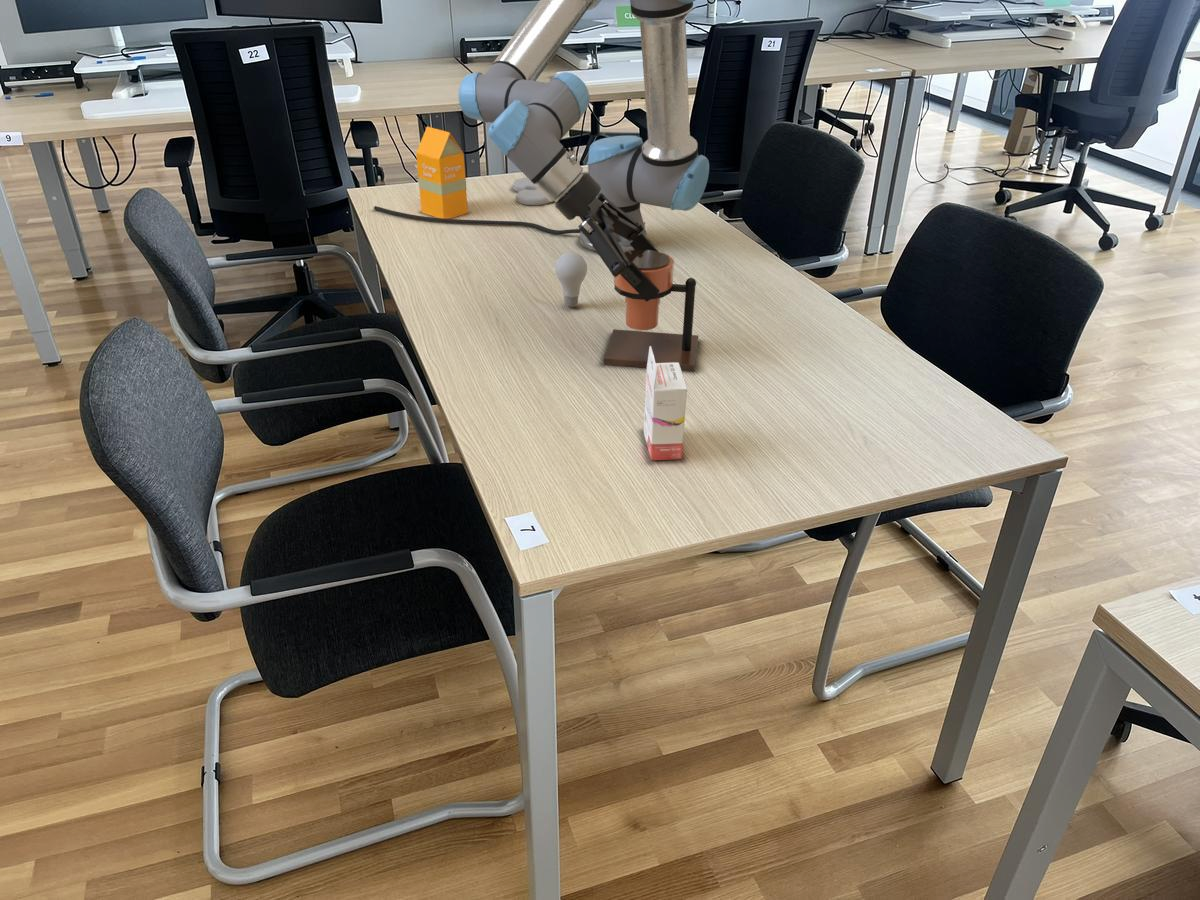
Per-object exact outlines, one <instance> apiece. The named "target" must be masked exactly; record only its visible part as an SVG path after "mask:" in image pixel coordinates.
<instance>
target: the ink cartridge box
mask: <svg viewBox="0 0 1200 900" xmlns="http://www.w3.org/2000/svg"><path fill="white" fill-rule="evenodd" d="M651 362H652V363H651ZM644 394H645V395H644V415H643V435H644V439H645V444H646V447H647V450H648V454H649V458H650V461H669V460H682V459H683V448H684V436H685V435H684V433H685V421H686V420H685V419H686V408H687V407H686V406H687V395H688V387H687V383H686V380H685V378H684V374H683V372H682V371H681V368H680V365H679V363H656V362H655V359H654V355H653V351H652V348H651V346H650V348H649V355H648V362H647V368H646V374H645V393H644Z"/></svg>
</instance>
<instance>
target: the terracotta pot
mask: <svg viewBox="0 0 1200 900" xmlns="http://www.w3.org/2000/svg"><path fill="white" fill-rule="evenodd" d="M624 253H625V255H626V257H627V259H628V260H629V262H630V263H631V262H633V263H634V264H635V265H636V266H637V267H638V268H639V269H640V270H641V271H642V272H643V273H644V274H645V275H646V276H647V278H648V279H649V280H650V281H651V282H652V283H653V284H654V285H655V286H656V287H657V288H658V289H659V292H658V293H661V292H664V291H667V290H669V289H670V288H671V287H672V285H673V284H674V269H675V260H674V258H673V257H672V256H671V255H669V254H667V253H664V252H660V251H659V252H657V251H652V250H633V251H628V252H624ZM613 284H614V286H616V287H617V288H619V289H620V290H622V291H625V292H629V293H634V294H639V293H638V292H637V291H636V290H635V289H634V288H633V287H632V286H631V285H630V284H629V283H628V282H627V281H626V280H625V279H624V278H623V277H622V276H621V275H620V274H619V275H618V276H617V277H614V276H613ZM624 297H625V296H624ZM624 303H625V325H626V326H627V327H628V328H630V329H632V330H635V331H649V330H653V329H655V328H657V326H658V325H659V309H660V308H659V307H660V304H661V298H657V299H651V300H649V301H648V302H646V301H645V300H641V299H632V298H628V297H625V298H624Z"/></svg>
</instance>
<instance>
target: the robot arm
mask: <svg viewBox="0 0 1200 900" xmlns="http://www.w3.org/2000/svg"><path fill="white" fill-rule="evenodd" d="M695 1H696V0H629V3H630V13H631V15H632V16H633V17H634V18H636V19H637V20H638V21H639V28H640V42H641V56H642V57H641V58H642V70H643V73H642V74H643V86H644V87H643V88H644V96H645V97H644V99H645V114H646V129H647V140H645V141H644V142H643V138H642V137H641V136H638V135H616V136H609V137H604V138H600V139H597V140H595V141H593V142H592V143H591V144H590V145H589V147H588V157H587V158H588V159H587V163H586V164H587V171H588V173H584V174H583V173H582V172H584V170H583V169H584V168H583V166H581V165H580V163H579V162H578V161H577V155H576V154H570V153H569V152H568V150H567V149H566V148H565V147H564V145H563V144H562V143H561V142H560V141H561V140H562V139H563V138H564V137H565V136H566V135H567V134H568V133H569V132H570V130H571V129H572V128H573V127H574V126H575V125H576V124H577V123H579V121H580V120H581V118H582V116H583V115H584V114H585V113H586V111H587V110H588V108H589V106H590V101H591V100H590V99H591V98H590V92H589V89H588V86H587V85H586V84H585V82H584V81H583V80H582V78H580V77H579V76H578V75H576V74H574V73H573V72H567V71H563V72H560V73H558V74H556V75H555V76H553V77H552V78H551V79H550V80H549V81H546V82H545V81H539V80H538V79H539V77H540V75H541V74H543V72H544V70H545V68H546V67H547V66H548V65H549V63H550V62H551V60H552V59H553V57H554V56H555V55H556V53H557V52H558V51H559V49H560V48H561V46H562V45H563V44H564V42H565V41H566V40H567V38H568V37H569V36H570V34H571V33H572V31H573V30H574V29H575V28H576V26H577V25H578V24H579V22H580V20H581V19H582V18H583V16H584V15H585V13H586V12H587V11H590V10H594V9H595V8H596V7H597V6H598V5H599V4H600V2H602V1H601V0H539V1H538V2H537V3H536V5H535V6H534V8H533V9H532V11H530V13H529V14H528V16H527V17H526V19H524V21H523V22H522V24H521V25H520V26H519V28H518V29H517V31H516V32H515V33H514V34H513V36H512V37H511V38H510V40H509V41H508V42H507V44H506V45H505V46H504V48H503V49H502V50H501V51H500V53H499V54H498V55H497V57H496V58H495V59H494V61H493V62H492V64H491V65H490V66H489V68H488V69H487V71H485V73H482V72H472V73H469V74H467V75H465V76H464V77H463V78H462V80H461V82H460V85H459V89H458V104H459V106H460V109H461V111H462V113H463V114H464V115H465V116H466V117H467V118H469V119H473V120H476V121H479V122H483V123H491V124H490V126H489V127H488V130H487V132H488V136H489V138H490V139H491V140H492V142H493V143H494V144H495V145H496V147H497V148H498V149H499V150H500V152H501V153H502V154H503V155H504V156H505V157H507V159H508V160H509V161H510V162H512V164H513V165H514V166H515V167H516V168H518V170H519V171H520V172H521V173H523V175H524V176H525V177H526V178H529V179H530V180H531V182H532V183H533V184H534V185H535V186H536V187H537V188H538V189H539V190H540V192H541V193H542V194H543V195H544V196H545V197H546V198H547V199H548V200H549V201H550V203H553V202H552V201H554V202H555V203H554V206H555V208H556V209H557V210H558V211H559V212H560V213H561V215H562V216H564V217H565V218H566V220H568V221H572V220H574V219H575V218H576V217H579V219H580V220H581V221H582V222H581V223H580V224H579V225H578V226H577V227H578V228H572V229H571V228H570V229H560V230H559V229H558V230H557V229H552V228H549V227H545V226H543V225H541V224H538V223H534V222H528V221H519V220H518V221H515V220H490V219H489V220H488V219H487V220H486V219H462V218H461V219H460V218H450V219H445V218H437V217H434V216H423V215H416V214H411V213H405V212H401V211H396V210H391V209H388V208H384V207H380V206H377V205H375V206H373V210H374V211H378V212H382V213H385V214H387V215H388V214H389V215H393V216H398V217H402V218H407V219H411V220H418V221H426V222H436V223H449V224H466V225H491V226H493V225H496V226H519V227H521V226H522V227H527V228H528V227H529V228H534V229H537V230H540V231H542V232H546V233H548V234H552V235H567V234H579V239H580V240H579V242H580V245H581V247H583V248H585V249H587V250H589V251H591V252H595V253H597V254H598V256H599V257H600V259H601V260H602V262H603V263H604V264H605V266H606V267H607V269H608V270H609V272H610V273H611V276H613V278H614V277H617V276H618V275H619V274H620V275H621V276H622V277H623V278H624V279H625V280H626V281H627V282H628V283H629V284H630V285H631V286H632V287H633V288H634V289H635V290H636V291H637V292H638V293H639V294H640V295H641V296H642V297H643V299H644V300H645V301H646V302H648V301H649V300H650V299H651V298H652V297H654V296H655V295H656V294H657V293H658V292H659V289H658V288H657V287H656V286H655V285H654V284H653V283H652V282H651V281H650V280H649V279H648V278H647V276H646V275H645V274H644V273H643V272H642V271H641V270H640V269H639V268H638V267H637V266H636V265H635V264H634V263H633V262H631V263H630V262H629V260H628V259H627V257H626V255H625V253H624V252H628V251H633V250H652V251H657V252H660V251H659V250H658V249H657V248H656V247H655V245H653V243H651V241H650V240H649V239H648V232H647V230H646V221H644V220H643V215H642V212H641V204H642V205H643V204H644V205H648V206H654V207H659V208H660V207H661V208H665V209H670V210H671V211H675V210H676V211H684V212H687V211H691V210H692V209H694V208H695V207H696V206H697V205H698V203H699V202H700V201H701V199H702V197H703V195H704V193H705V190H706V187H707V184H708V179H709V174H710V162H709V159H708V158H707V157H706V156H705V155H703V154H700V155H699V148H698V147H699V146H698V145H699V144H698V141H697V139H695V138H694V137H693V136H692V135H691V131H690V129H691V128H690V104H689V102H690V101H689V78H688V77H689V75H688V74H689V73H688V51H687V50H688V49H687V48H688V47H687V25H686V24H687V23H686V17H687V16H688V15H689V13H690V12H691V11H692V10H693V8H694V2H695Z"/></svg>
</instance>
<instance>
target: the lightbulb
mask: <svg viewBox="0 0 1200 900" xmlns="http://www.w3.org/2000/svg"><path fill="white" fill-rule="evenodd" d="M554 271H555V275H556V277H557V279H558V281H559V283H560V284H561V288H562V295H563V296H564V305H565V306H566V307H568V308H570V309H573V308H574V307H576V306H577V305H578V304H579V295H580V291H581V286H582V283H583V282H584V280H585V278H586V276H587V273H588V264H587V261H586V259H585V258H584V257H583V256H582V255H581V254H579V253H577V252H573V251H569V252H565V253H563V254H561V255H560V256H559V257H558V258H557V260H556V262H555V266H554Z"/></svg>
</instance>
